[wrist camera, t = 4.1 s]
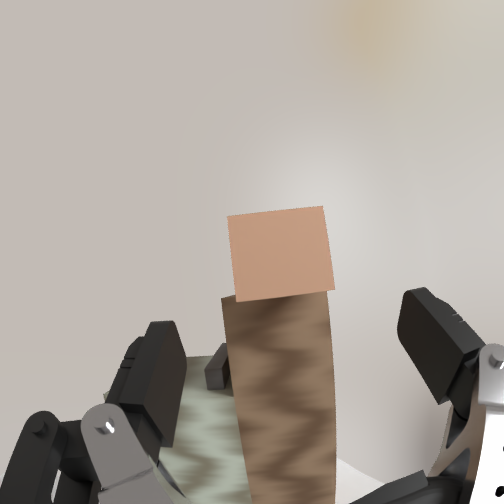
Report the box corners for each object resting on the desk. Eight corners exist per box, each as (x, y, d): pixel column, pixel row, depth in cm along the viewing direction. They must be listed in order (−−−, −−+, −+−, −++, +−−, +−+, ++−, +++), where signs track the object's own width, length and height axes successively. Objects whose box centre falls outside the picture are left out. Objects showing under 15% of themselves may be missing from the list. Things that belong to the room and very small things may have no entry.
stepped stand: (165, 548, 17) (88, 308, 21) (190, 485, 33) (152, 301, 37) (331, 545, 17) (326, 285, 21) (313, 479, 33) (298, 286, 37)
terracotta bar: (236, 302, 11) (227, 216, 12) (252, 292, 37) (249, 266, 37) (334, 289, 11) (322, 205, 12) (283, 288, 37) (280, 262, 37)
